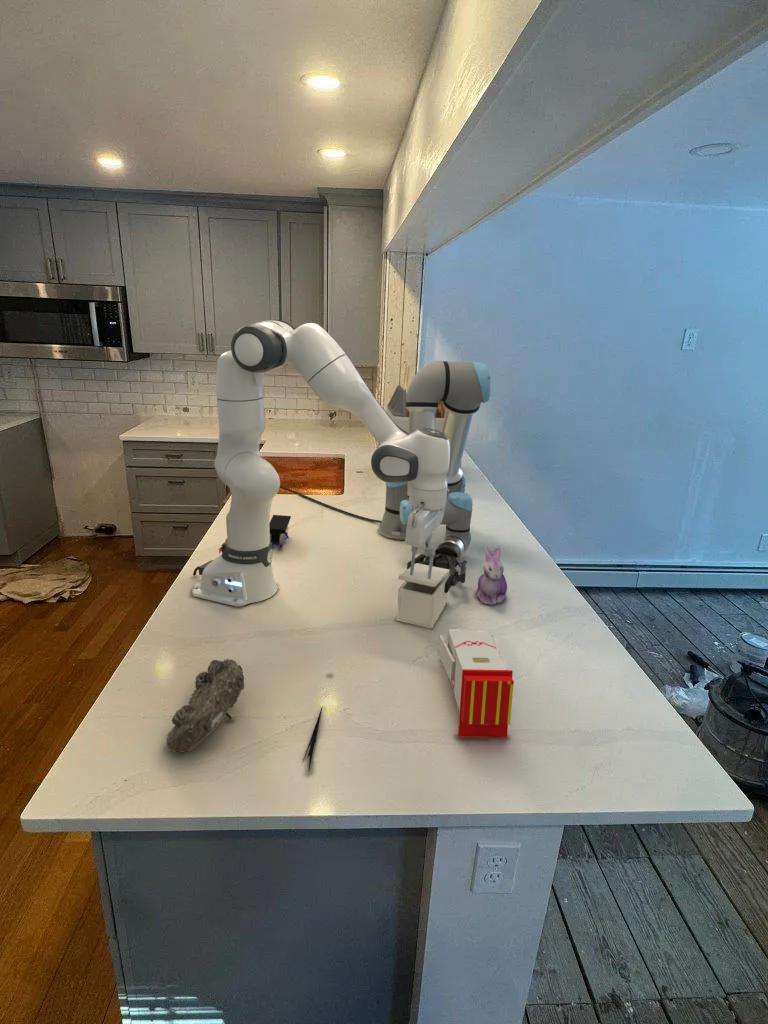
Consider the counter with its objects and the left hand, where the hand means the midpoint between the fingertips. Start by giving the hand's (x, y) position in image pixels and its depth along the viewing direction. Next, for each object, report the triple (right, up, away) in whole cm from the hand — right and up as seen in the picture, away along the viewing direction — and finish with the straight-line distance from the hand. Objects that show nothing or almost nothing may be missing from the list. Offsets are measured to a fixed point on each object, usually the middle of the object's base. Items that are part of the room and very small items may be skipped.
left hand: (423, 550), depth 140 cm
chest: (0, -17, +10) cm, 19 cm away
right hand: (+2, -10, +10) cm, 14 cm away
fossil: (-42, -30, -32) cm, 61 cm away
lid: (+1, -7, +6) cm, 9 cm away
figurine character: (-45, -1, +48) cm, 66 cm away
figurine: (+20, -15, +18) cm, 31 cm away
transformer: (+8, +28, +135) cm, 138 cm away
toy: (+8, -28, -21) cm, 36 cm away
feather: (-22, -30, -31) cm, 49 cm away
